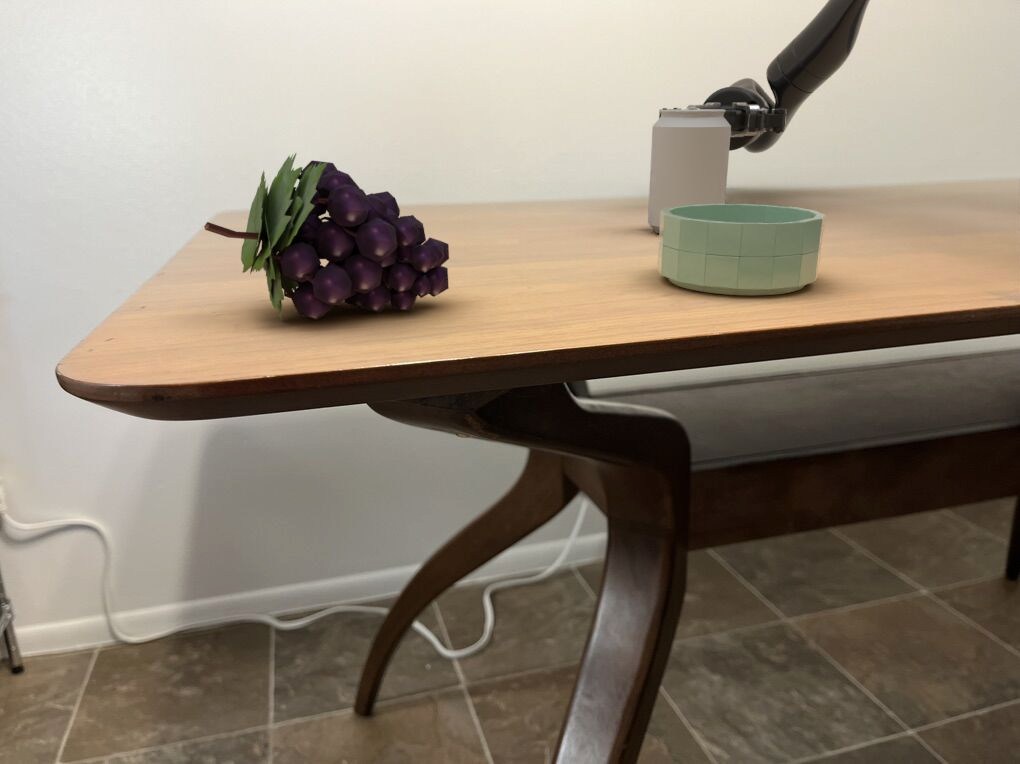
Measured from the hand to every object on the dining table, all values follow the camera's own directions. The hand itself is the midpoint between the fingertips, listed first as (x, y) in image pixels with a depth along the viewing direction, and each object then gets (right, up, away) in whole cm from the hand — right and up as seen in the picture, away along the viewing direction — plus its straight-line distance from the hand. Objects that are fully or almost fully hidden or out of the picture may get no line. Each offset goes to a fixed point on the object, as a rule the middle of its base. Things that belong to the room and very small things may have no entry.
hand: (712, 121), depth 89 cm
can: (-5, -14, -7) cm, 16 cm away
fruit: (-33, -24, -38) cm, 56 cm away
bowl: (-6, -21, -29) cm, 37 cm away
